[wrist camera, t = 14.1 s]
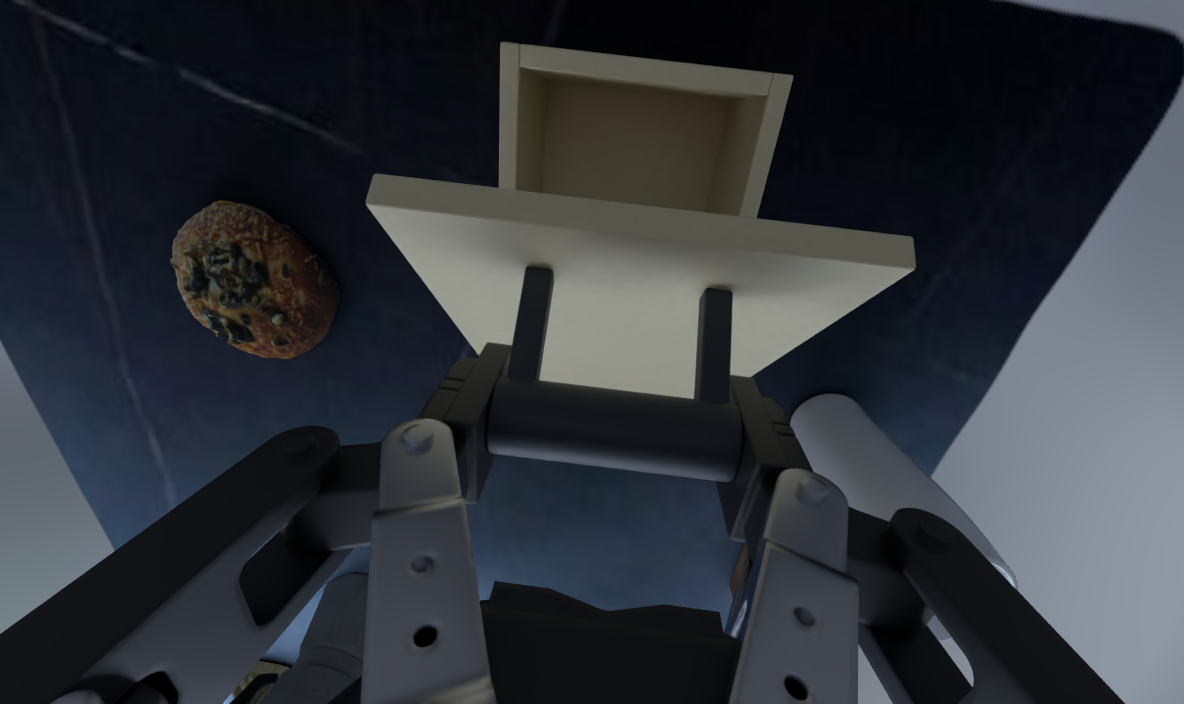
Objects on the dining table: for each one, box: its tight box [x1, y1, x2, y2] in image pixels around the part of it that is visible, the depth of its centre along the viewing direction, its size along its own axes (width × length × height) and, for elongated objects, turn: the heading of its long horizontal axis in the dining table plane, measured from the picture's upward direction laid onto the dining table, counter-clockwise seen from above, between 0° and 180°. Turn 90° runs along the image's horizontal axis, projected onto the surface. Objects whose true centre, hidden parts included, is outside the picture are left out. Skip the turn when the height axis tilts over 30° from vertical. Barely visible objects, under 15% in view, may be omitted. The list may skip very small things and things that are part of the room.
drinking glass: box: [790, 394, 1017, 642], centre depth 29 cm, size 7×7×15 cm
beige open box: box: [499, 42, 793, 218], centre depth 25 cm, size 15×12×9 cm
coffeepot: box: [230, 573, 369, 704], centre depth 42 cm, size 15×9×18 cm, turn 95°
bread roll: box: [171, 201, 341, 359], centre depth 32 cm, size 11×11×5 cm
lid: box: [366, 174, 916, 482], centre depth 16 cm, size 15×12×5 cm
